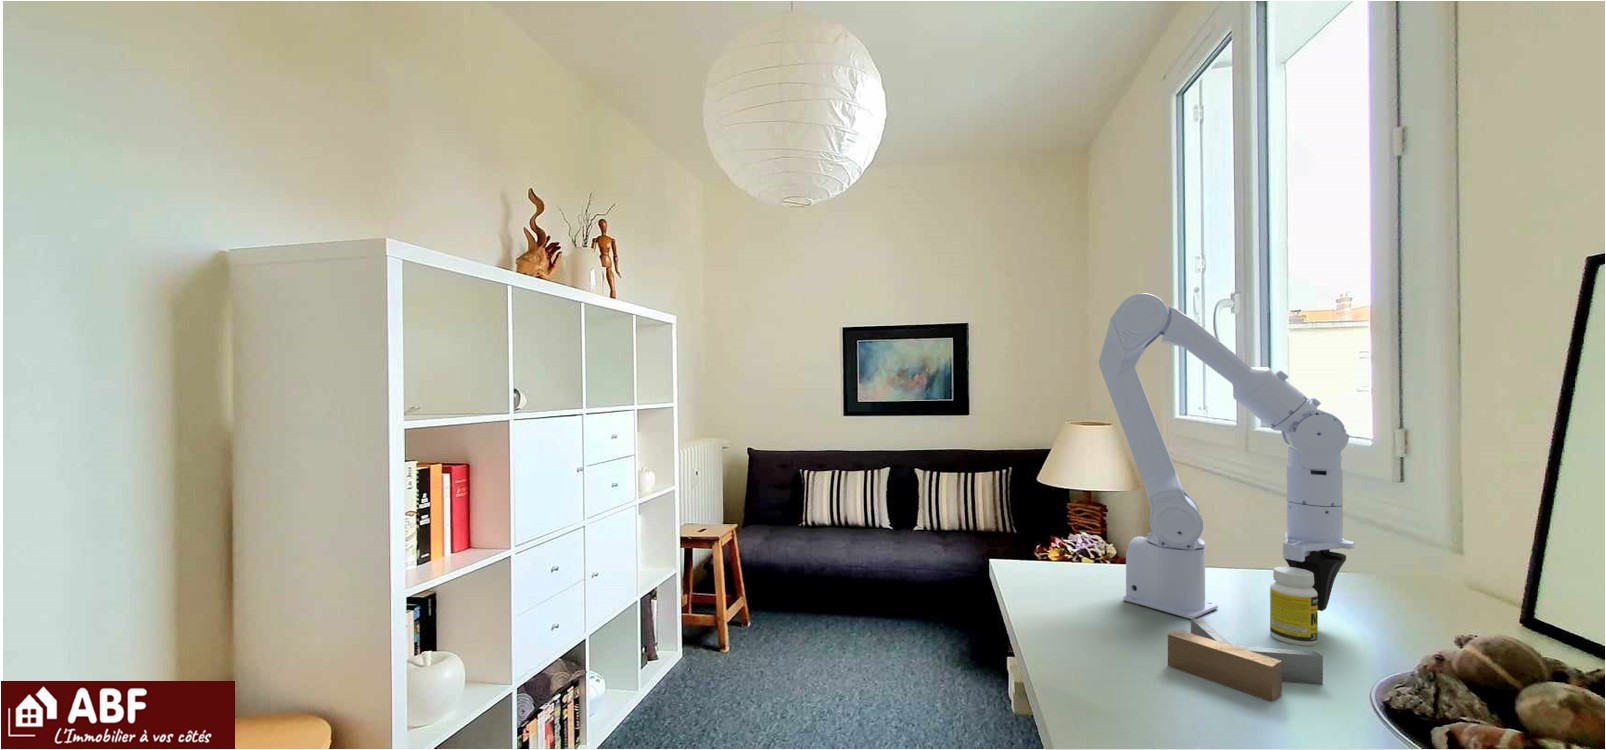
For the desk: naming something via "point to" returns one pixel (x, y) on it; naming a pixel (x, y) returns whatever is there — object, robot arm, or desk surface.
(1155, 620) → the desk surface
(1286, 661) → the v block
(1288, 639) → the supplement bottle
